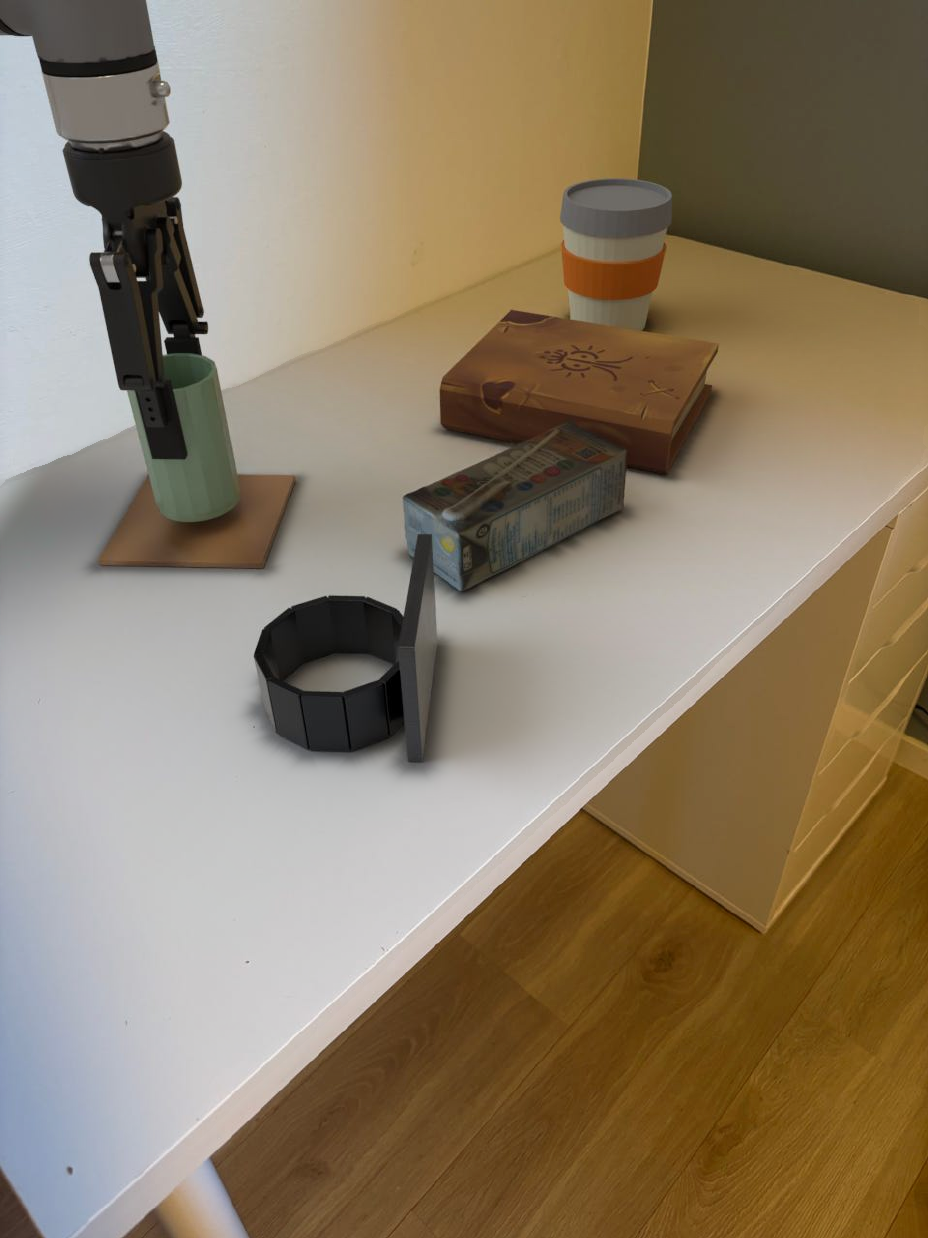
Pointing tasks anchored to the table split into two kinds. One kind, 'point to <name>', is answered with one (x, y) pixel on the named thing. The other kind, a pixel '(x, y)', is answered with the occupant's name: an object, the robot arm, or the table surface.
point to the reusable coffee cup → (613, 248)
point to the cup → (193, 445)
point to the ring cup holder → (355, 630)
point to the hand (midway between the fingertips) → (183, 432)
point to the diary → (580, 385)
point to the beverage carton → (516, 503)
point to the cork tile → (202, 530)
